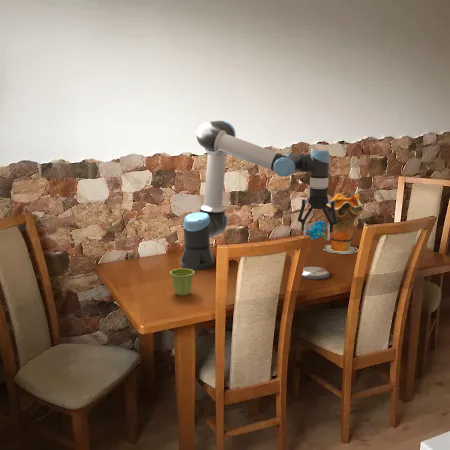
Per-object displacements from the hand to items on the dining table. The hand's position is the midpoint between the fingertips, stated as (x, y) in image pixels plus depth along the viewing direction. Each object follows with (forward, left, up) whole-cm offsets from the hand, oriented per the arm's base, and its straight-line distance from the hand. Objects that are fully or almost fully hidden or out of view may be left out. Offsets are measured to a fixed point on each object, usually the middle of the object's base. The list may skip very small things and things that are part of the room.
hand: (316, 238), depth 223 cm
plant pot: (-45, -41, -15) cm, 63 cm away
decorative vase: (+6, +40, -15) cm, 44 cm away
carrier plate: (0, -4, -15) cm, 16 cm away
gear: (0, 0, 0) cm, 1 cm away
